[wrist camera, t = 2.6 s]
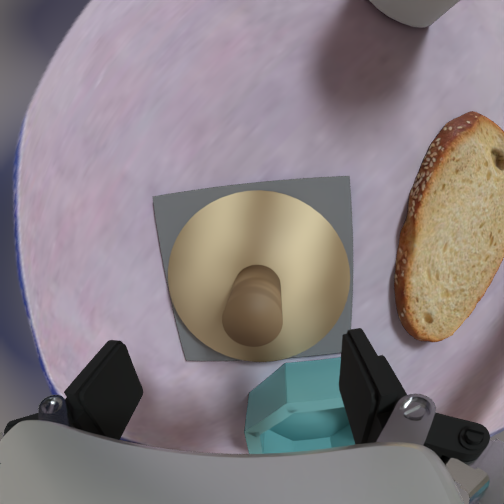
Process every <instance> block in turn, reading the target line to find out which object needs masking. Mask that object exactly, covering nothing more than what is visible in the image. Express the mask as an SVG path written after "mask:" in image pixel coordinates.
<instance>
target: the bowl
mask: <svg viewBox="0 0 504 504" xmlns="http://www.w3.org/2000/svg"><path fill="white" fill-rule="evenodd" d="M340 364H341V357H339V358H331V359H323V360H314V361H304V362H292V363H284V364H283V365H282V366H281V367H280V368H279V369H278V370H276V371H275V372H274V373H273V374H272V375H270V376H269V377H268V378H267V379H266V380H264V381H263V382H262V383H261V384H260V385H258V386H257V387H256V388H255V389H253V390H252V391H251V392H250V393H249V398H248V406H247V414H246V422H245V430H244V433H245V438H246V442H247V446H248V451H249V454H268V453H286V452H299V451H309V450H318V449H326V448H333V447H341V446H349V445H355V441H354V438H353V434H352V431H351V427H350V424H349V421H348V417H347V414H346V411H345V407H344V404H343V401H342V397H341V394H340V391H339V375H340Z"/></svg>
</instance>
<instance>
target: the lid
mask: <svg viewBox="0 0 504 504" xmlns="http://www.w3.org/2000/svg"><path fill="white" fill-rule="evenodd" d="M168 284H169V291H170V295H171V298H172V302H173V304H174V307H175V309H176V311H177V313H178V315H179V317H180V318H181V320H182V322H183V323H184V324H185V325H186V327H187V328H188V329H189V331H190V332H191V333H192V334H193V335H194V336H195V337H196V338H198V339H199V340H200V341H201V342H203V343H204V344H205V345H207V346H208V347H210V348H212V349H213V350H215V351H217V352H219V353H221V354H223V355H226V356H229V357H232V358H235V359H240V360H244V361H252V362H268V361H277V360H281V359H286V358H289V357H292V356H295V355H297V354H299V353H302V352H304V351H306V350H307V349H309V348H311V347H312V346H314V345H315V344H317V343H318V342H319V341H320V340H321V339H323V338H324V337H325V336H326V335H327V334H328V332H329V331H330V330H331V329H332V328H333V326H334V325H335V324H336V322H337V321H338V319H339V317H340V315H341V314H342V312H343V309H344V307H345V304H346V301H347V297H348V293H349V286H350V268H349V262H348V258H347V254H346V251H345V248H344V246H343V243H342V242H341V240H340V238H339V236H338V234H337V233H336V231H335V230H334V228H333V227H332V226H331V224H330V223H329V222H328V221H327V220H326V219H325V218H324V217H323V216H322V215H321V214H320V213H318V212H317V211H316V210H314V209H313V208H312V207H311V206H309V205H307V204H306V203H304V202H302V201H300V200H299V199H296V198H294V197H291V196H289V195H286V194H282V193H278V192H274V191H264V190H253V191H244V192H238V193H234V194H231V195H228V196H225V197H222V198H220V199H218V200H216V201H214V202H212V203H210V204H208V205H207V206H205V207H204V208H202V209H201V210H199V211H198V212H197V213H196V214H195V215H194V216H193V217H192V218H191V219H190V220H189V221H188V222H187V223H186V225H185V226H184V227H183V228H182V230H181V232H180V233H179V235H178V237H177V238H176V241H175V243H174V245H173V248H172V251H171V255H170V259H169V266H168Z"/></svg>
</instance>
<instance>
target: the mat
mask: <svg viewBox="0 0 504 504" xmlns="http://www.w3.org/2000/svg"><path fill="white" fill-rule="evenodd" d="M253 190H264V191H274V192H278V193H282V194H286V195H289V196H291V197H294V198H296V199H299V200H300V201H302V202H304V203H306V204H307V205H309V206H311V207H312V208H313V209H314V210H316V211H317V212H318V213H320V214H321V215H322V216H323V217H324V218H325V219H326V220H327V221H328V222H329V223H330V224H331V226H332V227H333V228H334V230H335V231H336V233H337V234H338V236H339V238H340V240H341V242H342V243H343V246H344V248H345V251H346V254H347V258H348V262H349V268H350V286H349V293H348V297H347V301H346V304H345V307H344V309H343V312H342V314H341V315H340V317H339V319H338V321H337V322H336V324H335V325H334V326H333V328H332V329H331V330H330V331H329V332H328V334H327V335H326V336H325V337H324V338H323V339H321V340H320V341H319V342H318V343H317V344H315V345H314V346H312V347H311V348H309V349H307V350H306V351H304V352H302V353H299V354H297V355H295V356H292V357H289V358H293V357H305V356H315V355H324V354H332V353H340V352H341V350H342V336H343V334H347V331H348V330H351V319H352V297H353V229H352V206H351V190H350V177H349V176H338V177H318V178H303V179H289V180H277V181H266V182H256V183H247V184H238V185H229V186H221V187H213V188H205V189H198V190H191V191H184V192H178V193H172V194H165V195H159V196H153V204H154V211H155V218H156V224H157V231H158V237H159V243H160V249H161V254H162V259H163V265H164V270H165V275H166V280H167V285H168V289H169V284H168V266H169V259H170V255H171V251H172V248H173V245H174V243H175V241H176V238H177V237H178V235H179V233H180V232H181V230H182V228H183V227H184V226H185V225H186V223H187V222H188V221H189V220H190V219H191V218H192V217H193V216H194V215H195V214H196V213H197V212H198V211H199V210H201V209H202V208H204V207H205V206H207V205H208V204H210V203H212V202H214V201H216V200H218V199H220V198H222V197H225V196H228V195H231V194H234V193H238V192H244V191H253ZM169 294H170V291H169ZM170 299H171V303H172V307H173V312H174V316H175V320H176V324H177V328H178V332H179V336H180V340H181V344H182V347H183V351H184V355H185V358H186V360H188V361H238V360H240V359H235V358H232V357H229V356H226V355H223V354H221V353H219V352H217V351H215V350H213V349H212V348H210V347H208V346H207V345H205V344H204V343H203V342H201V341H200V340H199V339H198V338H196V337H195V336H194V335H193V334H192V333H191V332H190V331H189V329H188V328H187V327H186V325H185V324H184V323H183V322H182V320H181V318H180V317H179V315H178V313H177V311H176V309H175V307H174V304H173V302H172V298H171V295H170Z"/></svg>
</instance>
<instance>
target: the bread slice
mask: <svg viewBox="0 0 504 504" xmlns="http://www.w3.org/2000/svg"><path fill="white" fill-rule="evenodd" d="M503 258H504V131H503V130H502V129H501V128H500V127H499V126H498V125H497V124H495V123H494V122H493V121H491V120H490V119H488V118H487V117H485V116H483V115H481V114H479V113H477V112H473V111H471V112H468V113H465V114H464V115H462V116H460V117H458V118H455V119H453V120H451V121H449V122H448V123H447V124H445V126H444V127H443V128H442V130H441V131H440V132H439V134H438V135H437V136H436V138H435V139H434V141H433V142H432V143H431V145H430V147H429V150H428V152H427V154H426V156H425V157H424V159H423V162H422V165H421V167H420V170H419V172H418V174H417V176H416V179H415V183H414V185H413V187H412V189H411V191H410V196H409V203H408V213H407V218H406V221H405V223H404V225H403V227H402V230H401V233H400V239H399V246H398V250H397V258H396V269H395V277H394V290H395V300H396V306H397V312H398V316H399V318H400V321H401V323H402V325H403V327H404V328H405V330H406V331H407V332H408V333H409V334H410V335H411V336H413V337H414V338H415V339H417V340H420V341H430V342H438V341H441V340H443V339H445V338H448V337H449V336H451V335H453V333H454V332H455V331H456V330H457V329H458V328H459V327H460V326H461V324H462V323H463V322H464V321H465V319H466V318H468V317H469V315H470V314H471V313H472V311H473V310H474V308H475V307H476V304H477V303H478V301H480V299H481V298H482V297H483V296H484V294H485V292H486V290H487V288H488V287H489V285H490V283H491V282H492V280H493V278H494V276H495V274H496V272H497V271H498V269H499V267H500V264H501V262H502V260H503Z"/></svg>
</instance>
